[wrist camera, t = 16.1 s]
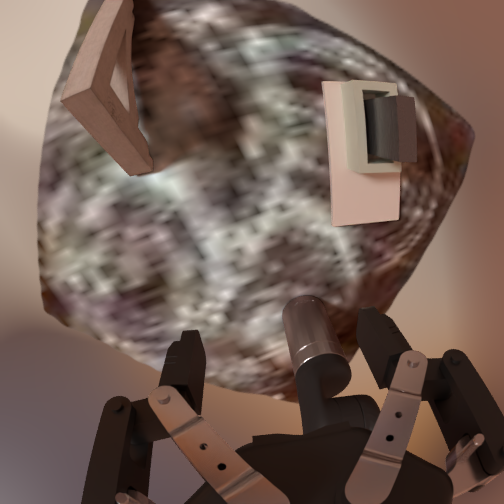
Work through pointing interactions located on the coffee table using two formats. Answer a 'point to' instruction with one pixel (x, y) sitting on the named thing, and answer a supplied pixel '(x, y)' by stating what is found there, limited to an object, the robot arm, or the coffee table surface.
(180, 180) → the coffee table surface
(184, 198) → the coffee table surface
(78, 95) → the wall bracket
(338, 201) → the well board
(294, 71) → the coffee table surface
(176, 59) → the coffee table surface
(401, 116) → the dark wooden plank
